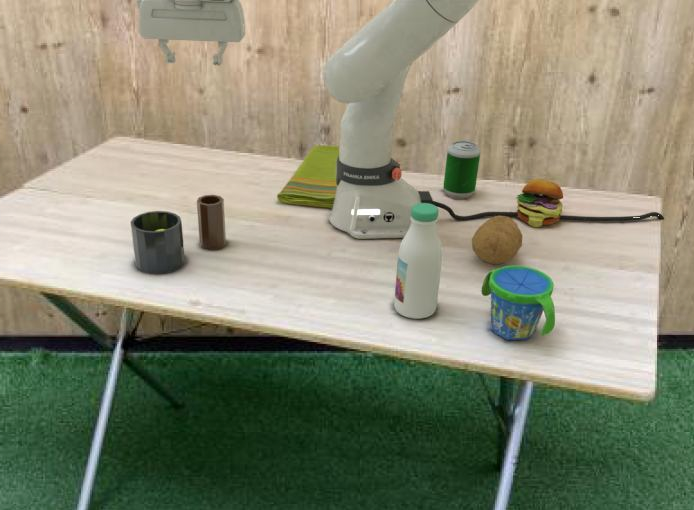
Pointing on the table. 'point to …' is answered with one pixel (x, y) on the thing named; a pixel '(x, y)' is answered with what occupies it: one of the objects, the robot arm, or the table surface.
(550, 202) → the cheeseburger
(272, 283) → the table surface
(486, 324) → the table surface
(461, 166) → the soda can
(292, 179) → the dish towel
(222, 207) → the ball stand
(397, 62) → the robot arm
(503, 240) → the potato
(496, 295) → the snack cup
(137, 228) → the dark grey round container
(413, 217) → the milk bottle
